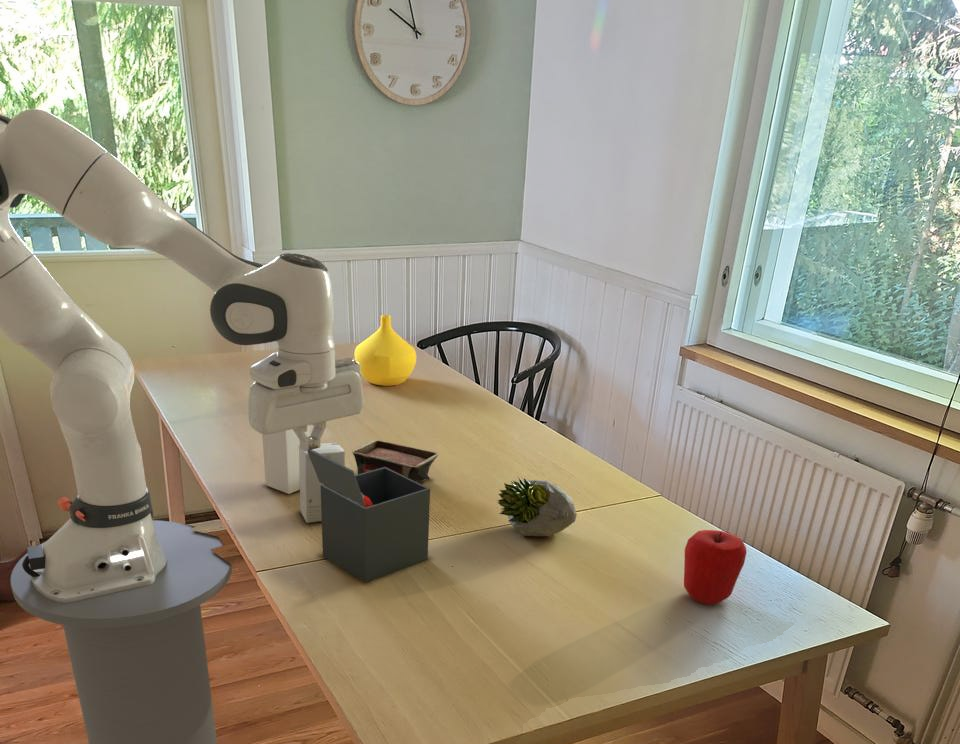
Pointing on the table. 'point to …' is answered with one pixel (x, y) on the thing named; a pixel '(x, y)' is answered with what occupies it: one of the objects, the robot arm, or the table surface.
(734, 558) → the apple
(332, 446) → the cosmetic box
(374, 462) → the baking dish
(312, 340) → the robot arm
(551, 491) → the potted plant
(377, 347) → the vase
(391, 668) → the table surface
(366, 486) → the carton
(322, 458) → the flap
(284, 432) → the milk carton
